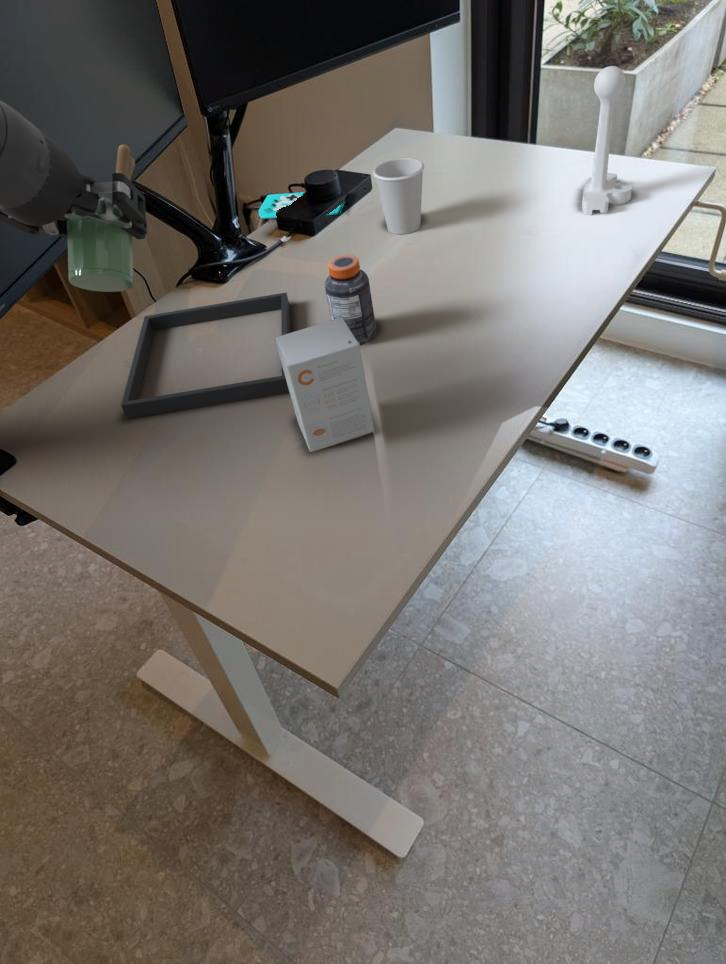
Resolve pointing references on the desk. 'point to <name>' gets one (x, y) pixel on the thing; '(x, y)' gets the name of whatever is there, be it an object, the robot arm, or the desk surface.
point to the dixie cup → (400, 193)
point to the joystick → (605, 148)
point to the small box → (326, 383)
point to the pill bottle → (350, 297)
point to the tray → (207, 395)
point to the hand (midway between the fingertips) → (110, 232)
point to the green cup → (99, 256)
